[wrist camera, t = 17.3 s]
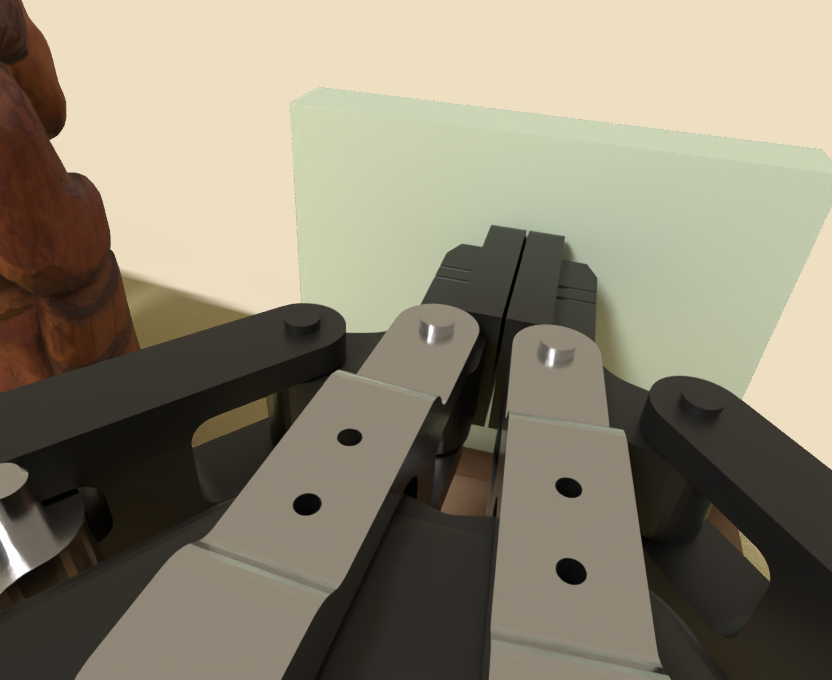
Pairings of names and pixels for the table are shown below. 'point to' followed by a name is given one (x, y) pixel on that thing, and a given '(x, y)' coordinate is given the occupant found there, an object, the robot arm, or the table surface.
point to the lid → (559, 222)
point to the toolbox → (474, 482)
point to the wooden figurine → (49, 228)
